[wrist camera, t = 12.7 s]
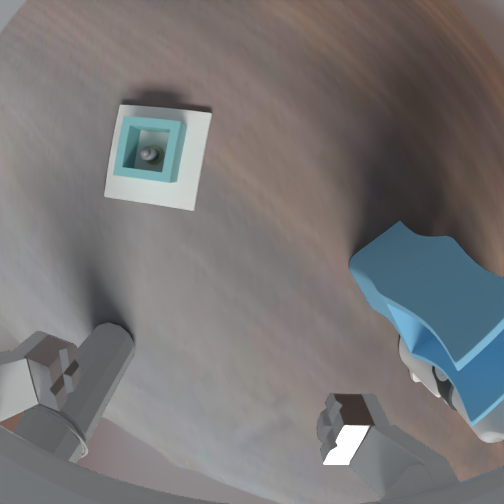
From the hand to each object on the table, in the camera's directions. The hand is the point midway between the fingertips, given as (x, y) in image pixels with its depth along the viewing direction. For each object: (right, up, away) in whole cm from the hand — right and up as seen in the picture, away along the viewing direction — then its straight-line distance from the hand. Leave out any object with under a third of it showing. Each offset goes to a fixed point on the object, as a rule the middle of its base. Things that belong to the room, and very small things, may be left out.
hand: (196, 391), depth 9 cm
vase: (+21, +2, +32) cm, 38 cm away
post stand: (-10, +16, +27) cm, 33 cm away
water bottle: (-19, -10, +33) cm, 40 cm away
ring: (-10, +16, +26) cm, 32 cm away
